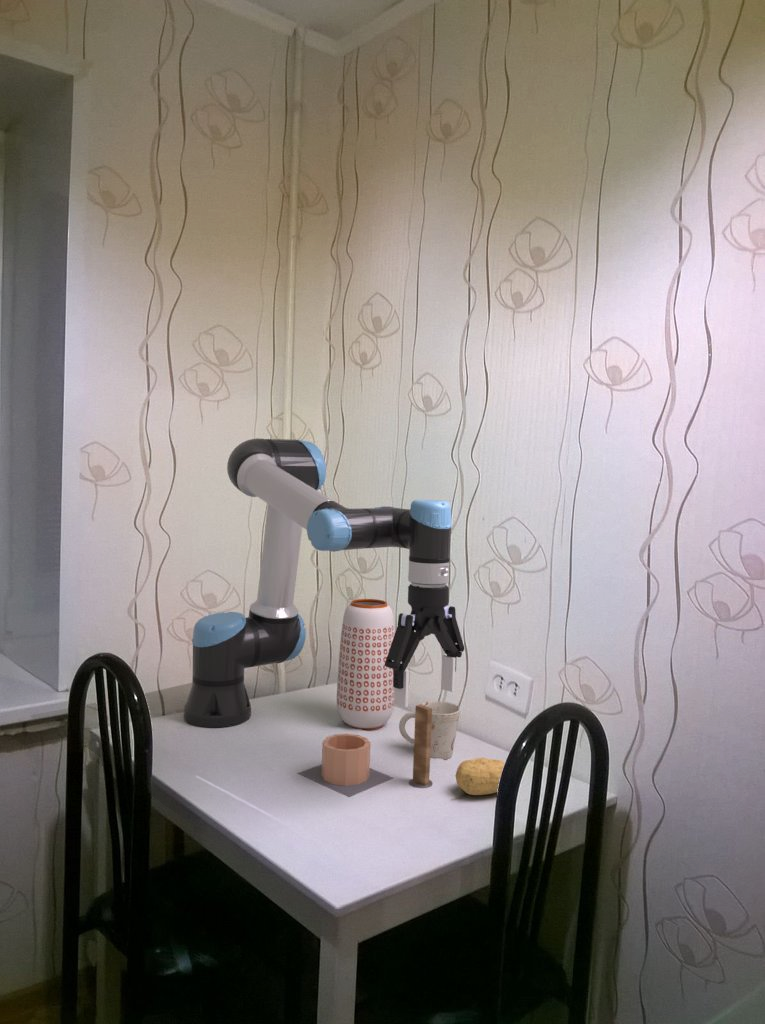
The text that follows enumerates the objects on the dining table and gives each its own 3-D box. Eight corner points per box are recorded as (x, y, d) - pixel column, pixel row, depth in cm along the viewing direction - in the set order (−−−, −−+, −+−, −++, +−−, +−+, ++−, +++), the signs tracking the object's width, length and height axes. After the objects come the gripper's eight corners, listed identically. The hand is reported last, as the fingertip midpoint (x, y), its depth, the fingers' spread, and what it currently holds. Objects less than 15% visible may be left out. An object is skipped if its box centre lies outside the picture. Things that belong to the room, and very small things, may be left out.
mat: (297, 775, 148) (297, 773, 148) (342, 758, 157) (342, 756, 157) (349, 799, 138) (349, 796, 138) (393, 779, 147) (393, 777, 147)
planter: (324, 721, 178) (327, 600, 176) (367, 710, 187) (371, 594, 184) (361, 738, 168) (366, 610, 166) (406, 725, 177) (410, 603, 175)
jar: (312, 774, 147) (313, 741, 147) (345, 762, 154) (346, 730, 153) (345, 789, 141) (346, 755, 141) (378, 776, 148) (379, 742, 147)
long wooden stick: (404, 784, 145) (407, 706, 144) (419, 778, 148) (422, 701, 147) (422, 792, 142) (425, 712, 141) (437, 785, 145) (440, 707, 144)
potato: (448, 787, 144) (449, 755, 144) (502, 782, 148) (504, 750, 147) (462, 803, 138) (463, 769, 138) (518, 797, 141) (520, 764, 141)
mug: (455, 764, 156) (457, 715, 155) (394, 757, 158) (395, 709, 157) (459, 749, 164) (461, 703, 163) (401, 743, 166) (403, 697, 165)
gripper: (399, 594, 131) (395, 717, 132) (484, 580, 149) (480, 688, 150) (367, 588, 136) (363, 707, 137) (453, 575, 154) (450, 680, 155)
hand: (425, 697), depth 144 cm, fingers open, 13 cm apart
